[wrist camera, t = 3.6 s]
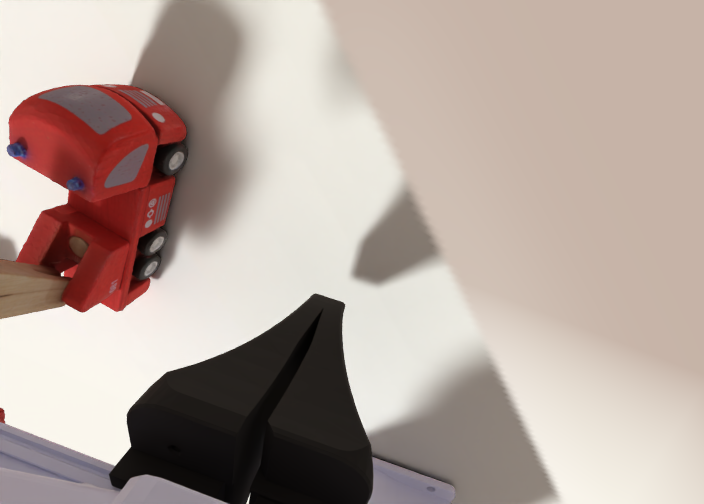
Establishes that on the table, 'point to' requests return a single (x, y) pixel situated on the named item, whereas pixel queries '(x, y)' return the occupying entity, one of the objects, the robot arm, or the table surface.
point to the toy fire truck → (93, 196)
